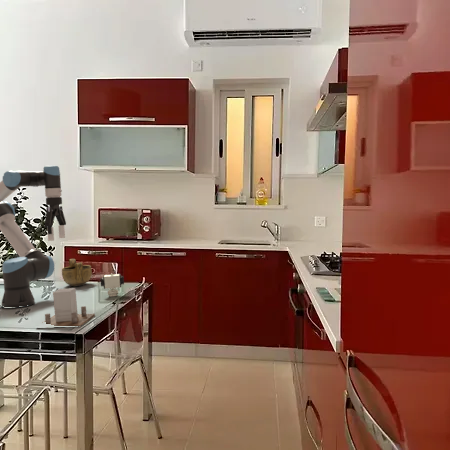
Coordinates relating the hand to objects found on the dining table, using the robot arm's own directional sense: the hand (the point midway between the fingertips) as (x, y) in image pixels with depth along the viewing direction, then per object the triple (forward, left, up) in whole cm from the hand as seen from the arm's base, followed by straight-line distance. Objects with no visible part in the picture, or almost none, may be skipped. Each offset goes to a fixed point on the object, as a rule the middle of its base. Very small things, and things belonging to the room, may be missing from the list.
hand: (56, 239), depth 240 cm
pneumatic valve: (+24, +9, -32) cm, 41 cm away
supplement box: (+19, -41, -31) cm, 54 cm away
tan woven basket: (-8, +44, -32) cm, 55 cm away
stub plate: (+19, -41, -32) cm, 55 cm away
